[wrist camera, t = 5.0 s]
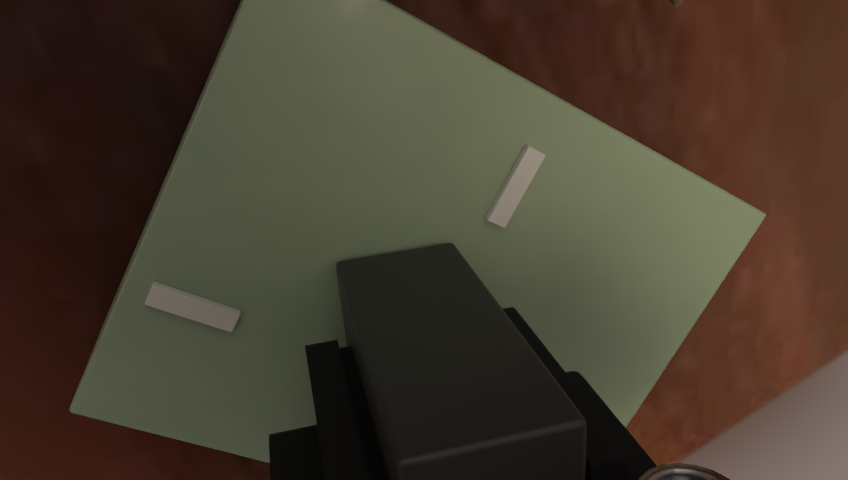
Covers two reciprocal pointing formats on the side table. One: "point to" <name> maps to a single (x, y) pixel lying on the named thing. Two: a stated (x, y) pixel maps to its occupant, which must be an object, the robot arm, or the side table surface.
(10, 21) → the side table surface
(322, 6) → the panel
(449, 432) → the black red-tipped block
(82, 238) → the side table surface
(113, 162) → the side table surface
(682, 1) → the bird sculpture
